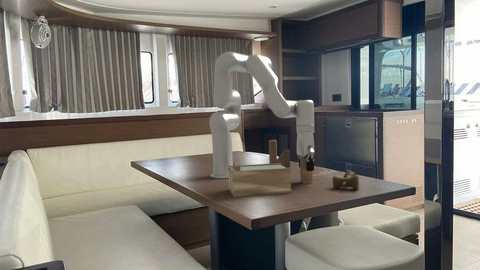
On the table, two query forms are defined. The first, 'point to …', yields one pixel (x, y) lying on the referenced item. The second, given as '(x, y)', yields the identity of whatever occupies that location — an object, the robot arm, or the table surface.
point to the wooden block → (283, 158)
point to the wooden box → (259, 181)
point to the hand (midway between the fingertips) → (306, 169)
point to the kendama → (346, 180)
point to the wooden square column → (304, 171)
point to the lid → (254, 167)
